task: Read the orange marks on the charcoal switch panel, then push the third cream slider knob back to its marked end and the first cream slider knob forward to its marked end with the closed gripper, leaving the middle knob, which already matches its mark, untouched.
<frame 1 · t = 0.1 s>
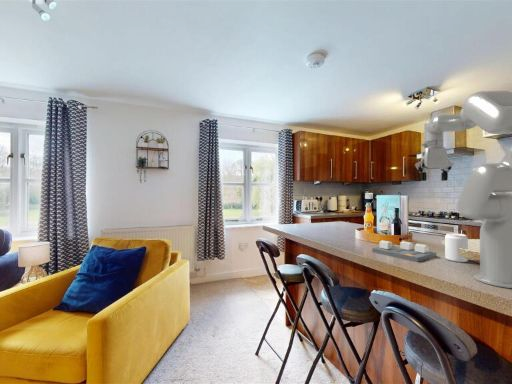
hand: (434, 180, 117), 37 cm above the countertop, tool pointing down, fingers open, 9 cm apart
knob 2: (406, 245, 125), point 4 cm above the countertop, slide at 0.0 cm
knob 1: (421, 247, 119), point 4 cm above the countertop, slide at 0.0 cm
switch panel: (403, 254, 123), on the countertop
knob 3: (385, 244, 127), point 4 cm above the countertop, slide at 7.0 cm
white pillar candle: (456, 260, 111), on the countertop
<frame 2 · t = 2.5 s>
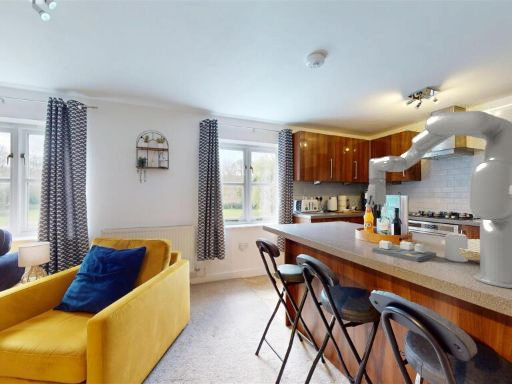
hand: (377, 218, 124), 18 cm above the countertop, tool pointing down, fingers closed
nothing on the countertop moved.
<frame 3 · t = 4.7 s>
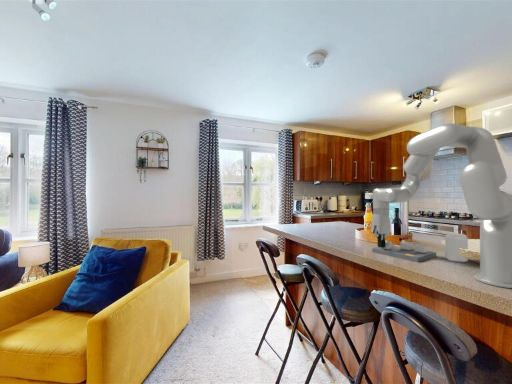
hand: (381, 247, 125), 3 cm above the countertop, tool pointing down, fingers closed
knob 3: (385, 244, 127), point 4 cm above the countertop, slide at 6.8 cm, touching gripper
everything else where it was.
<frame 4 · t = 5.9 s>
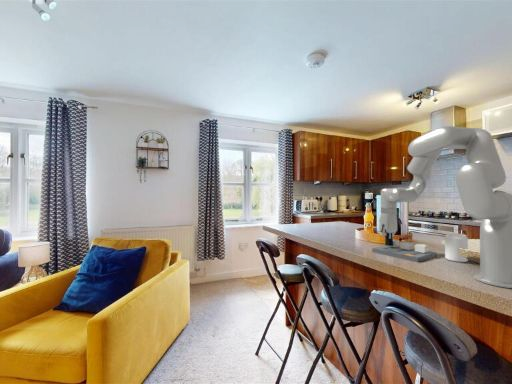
hand: (389, 245, 129), 3 cm above the countertop, tool pointing down, fingers closed
knob 3: (393, 242, 131), point 4 cm above the countertop, slide at -0.2 cm, touching gripper
everything else where it was.
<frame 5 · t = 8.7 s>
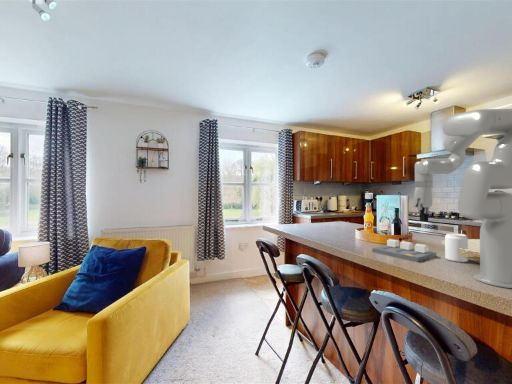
hand: (424, 221, 123), 17 cm above the countertop, tool pointing down, fingers closed
knob 3: (393, 242, 131), point 4 cm above the countertop, slide at 0.0 cm
everything else where it was.
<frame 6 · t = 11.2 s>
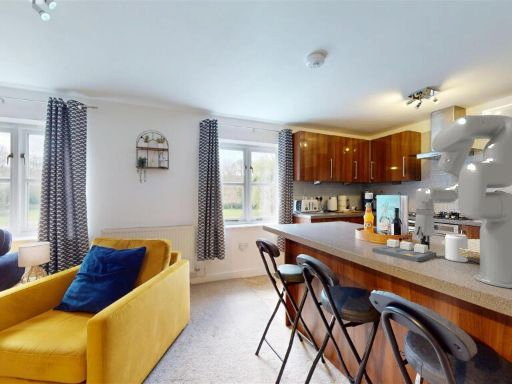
hand: (425, 249, 121), 3 cm above the countertop, tool pointing down, fingers closed
knob 1: (421, 248, 118), point 4 cm above the countertop, slide at 0.6 cm, touching gripper
everything else where it was.
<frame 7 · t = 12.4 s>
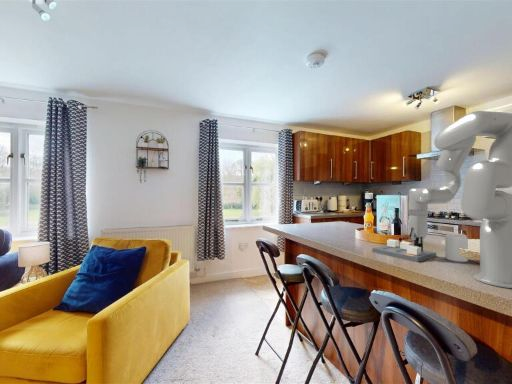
hand: (418, 251, 117), 3 cm above the countertop, tool pointing down, fingers closed
knob 1: (414, 249, 115), point 4 cm above the countertop, slide at 7.3 cm, touching gripper
everything else where it was.
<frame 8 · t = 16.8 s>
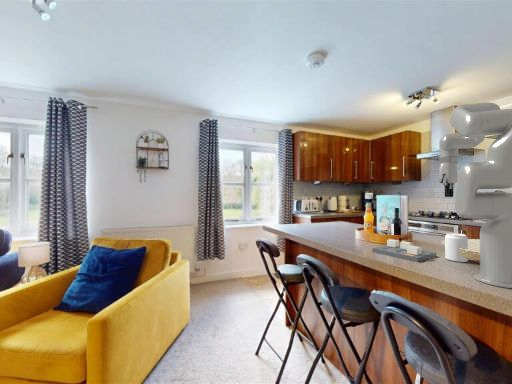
hand: (449, 196, 124), 29 cm above the countertop, tool pointing down, fingers closed
knob 1: (414, 249, 115), point 4 cm above the countertop, slide at 7.0 cm
everything else where it was.
at the end: knob 1 slide at 7.0 cm; knob 2 slide at 0.0 cm; knob 3 slide at 0.0 cm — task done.
